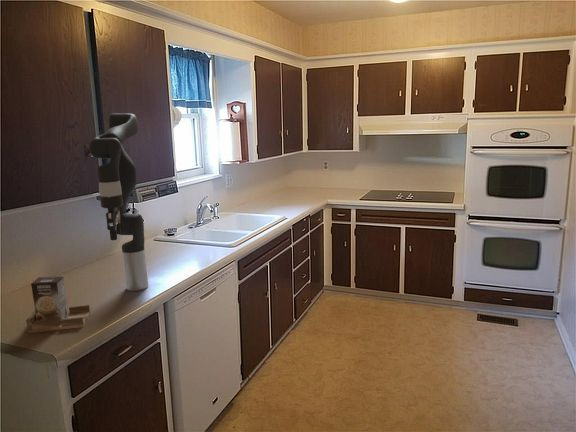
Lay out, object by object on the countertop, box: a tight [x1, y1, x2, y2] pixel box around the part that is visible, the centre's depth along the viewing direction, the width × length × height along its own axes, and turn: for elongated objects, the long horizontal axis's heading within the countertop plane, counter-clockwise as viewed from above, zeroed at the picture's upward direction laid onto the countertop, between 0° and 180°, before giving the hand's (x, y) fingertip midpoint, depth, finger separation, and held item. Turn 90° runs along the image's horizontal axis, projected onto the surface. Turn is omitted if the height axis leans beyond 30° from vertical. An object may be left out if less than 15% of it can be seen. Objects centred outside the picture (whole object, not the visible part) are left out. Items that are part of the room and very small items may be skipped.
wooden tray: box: [25, 304, 91, 334], centre depth 162 cm, size 12×18×5 cm, turn 102°
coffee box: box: [30, 276, 69, 324], centre depth 160 cm, size 9×6×16 cm
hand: (115, 236), depth 163 cm, fingers open, 8 cm apart
